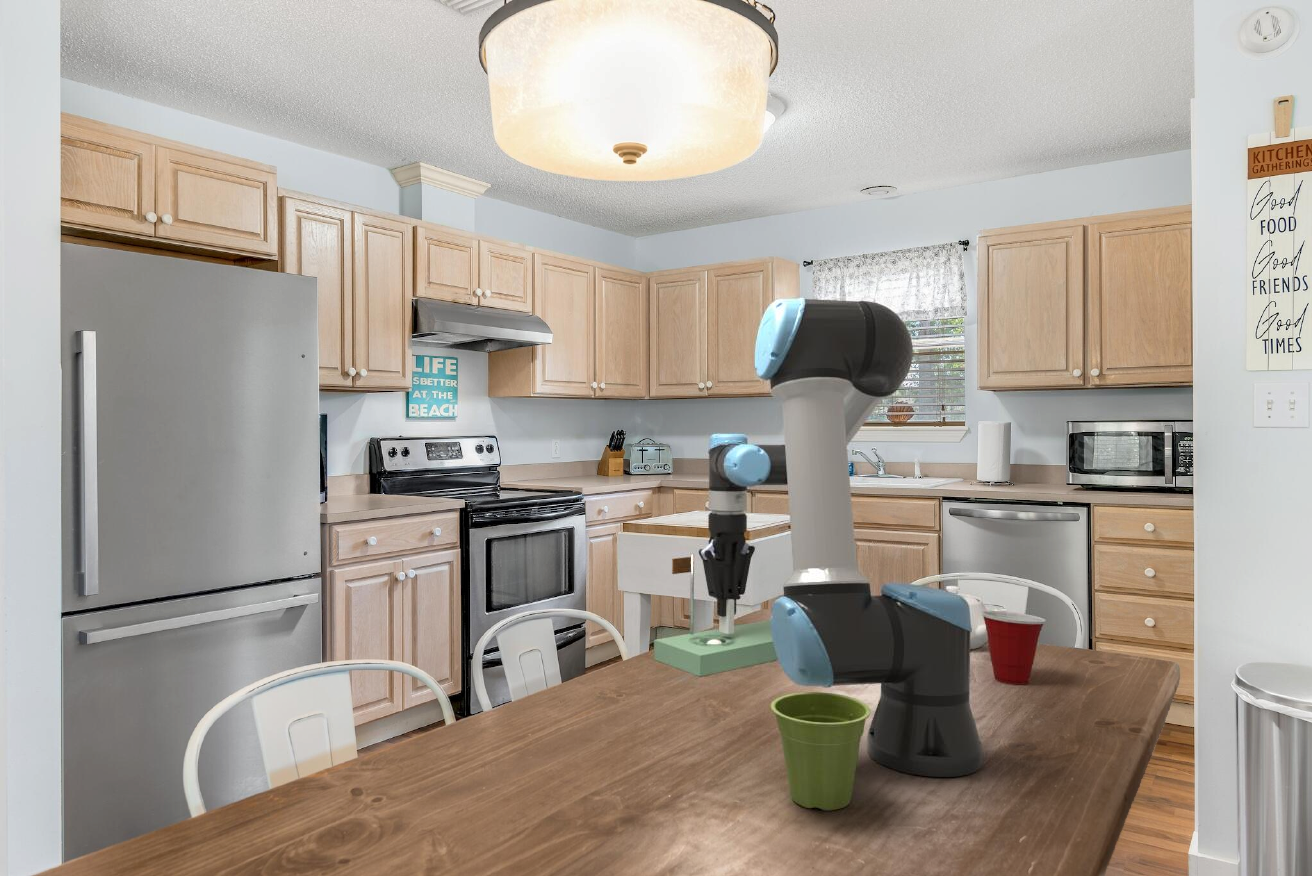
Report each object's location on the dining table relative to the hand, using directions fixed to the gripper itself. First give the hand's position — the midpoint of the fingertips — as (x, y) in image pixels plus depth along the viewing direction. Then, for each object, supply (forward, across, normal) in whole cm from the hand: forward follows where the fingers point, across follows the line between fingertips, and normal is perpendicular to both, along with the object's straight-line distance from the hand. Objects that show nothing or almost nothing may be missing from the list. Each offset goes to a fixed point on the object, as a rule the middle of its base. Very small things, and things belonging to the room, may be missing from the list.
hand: (726, 632), depth 167 cm
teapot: (+5, +46, -20) cm, 51 cm away
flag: (+1, -6, +6) cm, 9 cm away
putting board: (+5, +4, 0) cm, 6 cm away
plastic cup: (+5, +32, -41) cm, 53 cm away
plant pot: (+5, -34, -55) cm, 65 cm away
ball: (+3, -3, 0) cm, 4 cm away
